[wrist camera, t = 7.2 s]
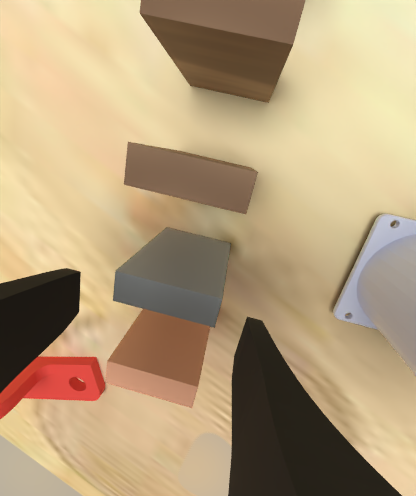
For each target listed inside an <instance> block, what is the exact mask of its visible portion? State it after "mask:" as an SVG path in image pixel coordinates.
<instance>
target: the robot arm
mask: <svg viewBox="0 0 416 496" xmlns="http://www.w3.org/2000/svg"><path fill="white" fill-rule="evenodd" d="M394 220H395V221H396V224H395V225H394V226H392V227H391V226H390V224H391V222H392V221H394ZM80 273H81V272H79V271H75V270H72V269H68V268H66V269H59V270H55V271H50V272H46V273H42V274H38V275H34V276H29V277H25V278H21V279H17V280H13V281H9V282H5V283H0V393H1V392H2V391H3V390H4V389H5V388H6V387H7V386H8V385H9V384H10V383H11V382H12V381H13V380H14V379H15V378H16V377H17V376H18V375H19V374H20V373H21V372H22V371H23V370H24V369H25V368H26V367H27V366H28V365H29V364H30V363H31V362H32V361H33V360H34V359H36V358H37V357H38V356H39V355H40V354H41V353H42V352H43V351H44V350H45V349H46V348H47V347H48V346H49V345H50V344H51V343H52V342H53V341H54V340H55V339H56V338H57V337H58V336H59V335H60V334H61V333H62V332H63V331H64V330H65V329H66V328H67V327H68V325H69V324H70V323H71V322H72V320H73V319H74V318H75V317H76V315H77V314H78V313H79V300H80ZM347 313H350V315H348V316H345V314H347ZM333 314H334V316H335V317H336V318H337V319H339V320H343V321H347V322H351V323H354V324H358V325H362V326H366V327H370V328H373V329H377V330H379V331H380V332H381V334H382V335H383V336H384V337H385V339H386V340H387V341H388V342H389V344H390V345H391V346H392V347H393V349H394V350H395V351H396V352H397V353H398V355H399V356H400V357H401V358H402V360H403V361H404V362H405V363H406V365H407V366H408V367H409V368H410V370H411V371H412V372H413V373H414V375H415V376H416V220H412V219H408V218H404V217H400V216H395V215H391V214H381V215H379V216H378V217H377V219H376V220H375V222H374V225H373V227H372V229H371V231H370V233H369V235H368V237H367V239H366V242H365V244H364V246H363V248H362V250H361V252H360V254H359V256H358V258H357V261H356V263H355V265H354V267H353V269H352V271H351V273H350V275H349V278H348V280H347V282H346V284H345V286H344V288H343V290H342V292H341V294H340V297H339V299H338V301H337V303H336V305H335V307H334V309H333ZM231 457H232V458H231V470H230V483H229V494H228V496H402V495H401V494H400V493H399V492H398V491H397V490H395V489H394V488H393V487H392V486H391V485H390V484H389V483H388V482H387V481H386V480H385V479H384V478H383V477H382V476H381V475H380V474H379V473H378V472H377V471H376V470H375V469H374V468H373V467H372V466H371V465H370V464H369V463H368V462H367V461H366V460H365V459H364V458H363V457H362V456H361V455H360V454H359V453H358V452H357V451H356V450H355V448H354V447H353V446H352V445H351V444H350V443H349V442H348V441H347V440H346V439H345V438H344V436H343V435H342V434H341V433H340V432H339V431H338V430H337V429H336V428H335V426H334V425H333V424H332V423H331V422H330V421H329V420H328V418H327V417H326V416H325V415H324V414H323V412H322V411H321V410H320V409H319V407H318V406H317V405H316V404H315V402H314V401H313V400H312V399H311V397H310V396H309V395H308V393H307V392H306V391H305V389H304V388H303V387H302V385H301V384H300V382H299V381H298V380H297V378H296V377H295V375H294V374H293V372H292V371H291V369H290V368H289V366H288V365H287V363H286V362H285V360H284V358H283V357H282V355H281V353H280V352H279V350H278V348H277V347H276V345H275V343H274V341H273V339H272V338H271V336H270V334H269V332H268V330H267V329H266V327H265V325H264V323H263V322H262V321H261V320H258V319H254V318H250V317H247V319H246V322H245V325H244V328H243V331H242V334H241V337H240V340H239V343H238V346H237V349H236V352H235V356H234V364H233V373H232V456H231Z"/></svg>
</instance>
